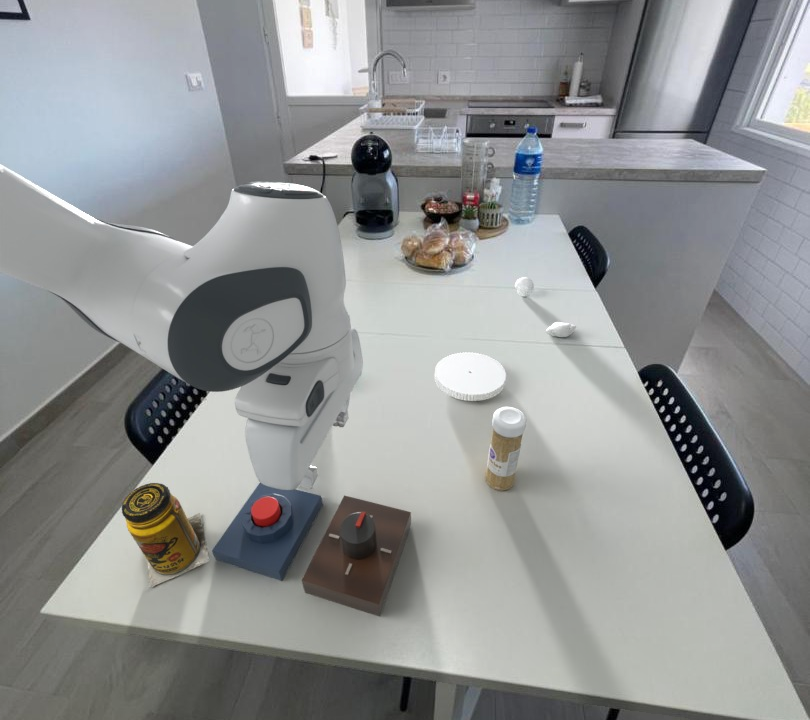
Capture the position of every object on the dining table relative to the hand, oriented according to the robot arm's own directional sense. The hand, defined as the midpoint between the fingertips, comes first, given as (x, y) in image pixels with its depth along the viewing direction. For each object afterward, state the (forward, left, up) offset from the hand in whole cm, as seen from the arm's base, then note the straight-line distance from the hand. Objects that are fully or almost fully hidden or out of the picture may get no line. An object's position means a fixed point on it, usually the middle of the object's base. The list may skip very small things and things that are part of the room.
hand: (325, 450), depth 52 cm
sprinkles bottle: (+16, -20, -17) cm, 31 cm away
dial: (-2, -4, -14) cm, 15 cm away
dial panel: (-2, -4, -17) cm, 18 cm away
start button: (-2, +9, -14) cm, 17 cm away
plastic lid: (+39, -11, -17) cm, 44 cm away
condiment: (-8, +21, -17) cm, 28 cm away
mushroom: (+80, -18, -17) cm, 84 cm away
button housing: (-2, +10, -17) cm, 20 cm away
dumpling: (+62, -28, -17) cm, 70 cm away
